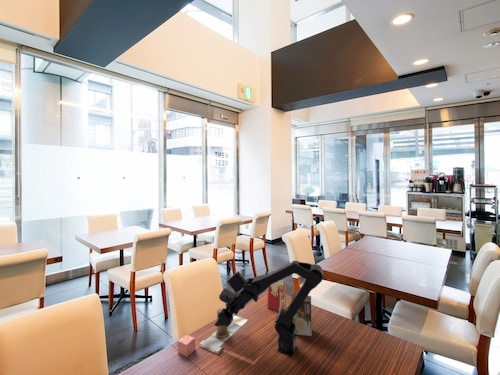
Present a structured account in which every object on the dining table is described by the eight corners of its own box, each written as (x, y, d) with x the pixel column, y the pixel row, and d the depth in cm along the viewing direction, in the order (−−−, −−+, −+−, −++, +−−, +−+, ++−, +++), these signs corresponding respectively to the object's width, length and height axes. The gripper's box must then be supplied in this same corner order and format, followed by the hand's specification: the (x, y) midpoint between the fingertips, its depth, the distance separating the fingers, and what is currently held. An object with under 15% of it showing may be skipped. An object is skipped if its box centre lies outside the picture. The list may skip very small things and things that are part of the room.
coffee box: (311, 328, 122) (311, 295, 121) (311, 336, 116) (311, 302, 115) (292, 326, 124) (292, 293, 123) (291, 334, 118) (291, 299, 117)
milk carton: (287, 307, 142) (287, 271, 141) (279, 314, 134) (280, 277, 134) (272, 302, 147) (272, 268, 146) (264, 309, 139) (264, 273, 138)
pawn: (229, 330, 118) (229, 307, 118) (227, 339, 112) (227, 314, 112) (217, 330, 119) (217, 307, 118) (214, 338, 113) (214, 314, 112)
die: (195, 349, 108) (195, 337, 107) (186, 356, 103) (186, 344, 103) (186, 345, 110) (186, 334, 110) (177, 352, 106) (177, 340, 106)
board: (250, 322, 127) (250, 320, 127) (217, 354, 105) (217, 351, 105) (233, 317, 132) (233, 314, 132) (199, 346, 110) (199, 343, 110)
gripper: (237, 276, 122) (215, 296, 126) (222, 294, 104) (198, 316, 108) (252, 294, 121) (231, 314, 124) (240, 315, 103) (215, 337, 106)
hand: (219, 319), depth 116 cm, fingers open, 9 cm apart
